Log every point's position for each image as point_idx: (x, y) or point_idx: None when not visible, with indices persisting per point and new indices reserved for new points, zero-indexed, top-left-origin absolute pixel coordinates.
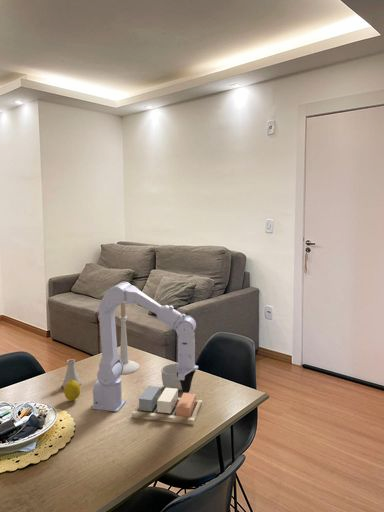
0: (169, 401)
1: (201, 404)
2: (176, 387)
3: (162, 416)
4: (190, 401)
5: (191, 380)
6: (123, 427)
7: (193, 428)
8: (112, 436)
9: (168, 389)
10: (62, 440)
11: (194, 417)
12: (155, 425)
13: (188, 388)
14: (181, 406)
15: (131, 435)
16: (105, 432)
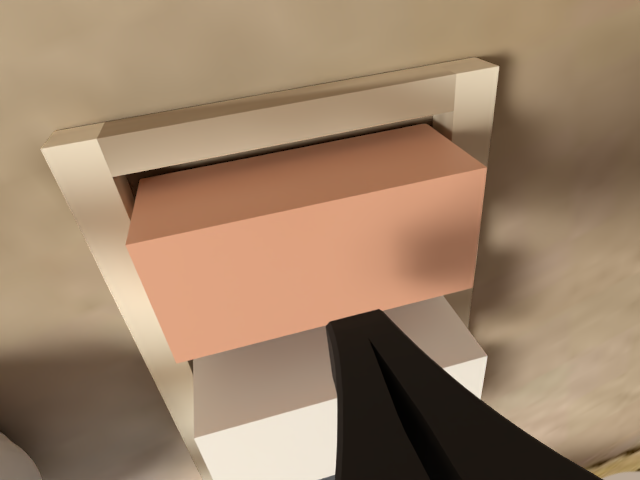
0: (476, 365)
1: (94, 128)
2: (7, 456)
3: (467, 307)
4: (341, 220)
5: (420, 466)
6: (534, 392)
7: (530, 35)
8: (603, 383)
9: (253, 478)
10: (616, 469)
11: (448, 79)
12: (507, 292)
13: (420, 358)
14: (466, 250)
15: (601, 333)
16: (573, 416)
